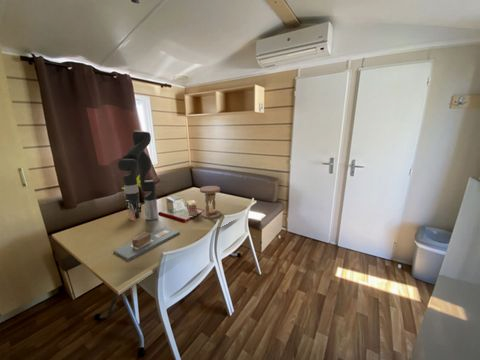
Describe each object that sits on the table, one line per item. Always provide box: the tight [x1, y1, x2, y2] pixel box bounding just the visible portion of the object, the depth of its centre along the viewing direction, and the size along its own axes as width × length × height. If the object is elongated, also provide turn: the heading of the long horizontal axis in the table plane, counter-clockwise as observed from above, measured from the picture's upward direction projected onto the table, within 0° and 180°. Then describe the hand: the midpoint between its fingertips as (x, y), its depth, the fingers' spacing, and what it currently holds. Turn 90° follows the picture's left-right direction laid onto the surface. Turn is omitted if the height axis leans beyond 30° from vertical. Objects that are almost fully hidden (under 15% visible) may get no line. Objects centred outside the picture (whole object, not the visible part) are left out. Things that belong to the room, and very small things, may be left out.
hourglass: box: [199, 185, 222, 220], centre depth 177 cm, size 18×18×25 cm
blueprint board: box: [113, 226, 181, 262], centre depth 136 cm, size 16×38×2 cm, turn 148°
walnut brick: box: [131, 231, 151, 248], centre depth 131 cm, size 5×10×5 cm, turn 161°
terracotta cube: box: [127, 210, 142, 221], centre depth 127 cm, size 5×5×5 cm
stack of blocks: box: [185, 199, 198, 217], centre depth 183 cm, size 21×6×12 cm, turn 21°
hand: (134, 217), depth 127 cm, fingers closed on terracotta cube, 5 cm apart
